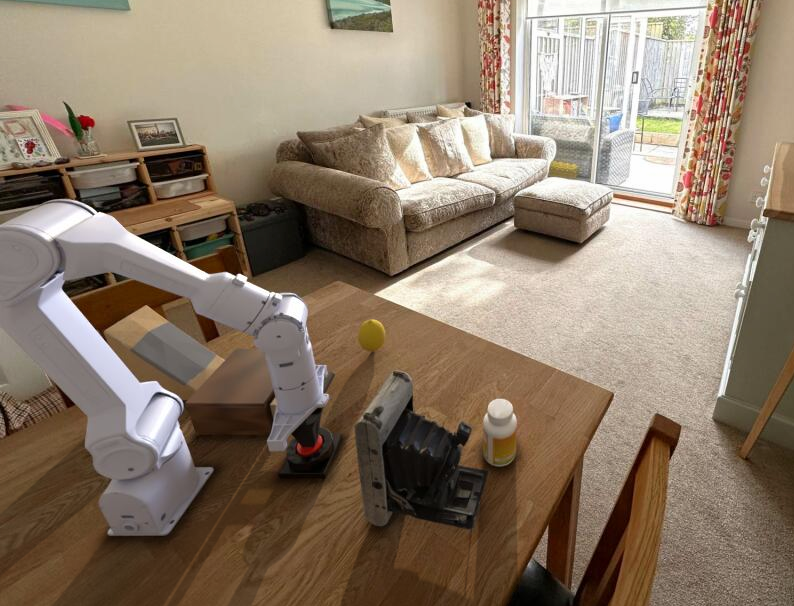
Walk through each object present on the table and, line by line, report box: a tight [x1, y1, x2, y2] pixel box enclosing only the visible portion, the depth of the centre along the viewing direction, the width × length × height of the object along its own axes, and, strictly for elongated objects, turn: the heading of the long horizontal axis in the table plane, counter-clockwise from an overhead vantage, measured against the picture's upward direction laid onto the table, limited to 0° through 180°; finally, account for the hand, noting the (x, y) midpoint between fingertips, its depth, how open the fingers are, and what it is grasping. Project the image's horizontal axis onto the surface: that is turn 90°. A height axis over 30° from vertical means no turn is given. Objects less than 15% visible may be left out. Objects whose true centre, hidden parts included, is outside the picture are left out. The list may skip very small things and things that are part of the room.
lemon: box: [357, 319, 386, 352], centre depth 87 cm, size 6×6×8 cm
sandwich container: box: [103, 305, 226, 401], centre depth 76 cm, size 9×15×15 cm, turn 88°
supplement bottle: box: [482, 398, 518, 468], centre depth 65 cm, size 5×5×10 cm
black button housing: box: [277, 426, 344, 480], centre depth 64 cm, size 7×7×3 cm
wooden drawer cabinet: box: [184, 347, 274, 436], centre depth 73 cm, size 13×14×7 cm
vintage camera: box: [354, 369, 489, 531], centre depth 55 cm, size 10×16×20 cm, turn 79°
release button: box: [297, 435, 323, 457], centre depth 64 cm, size 4×4×2 cm
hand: (309, 443), depth 63 cm, fingers closed, pressing on release button
